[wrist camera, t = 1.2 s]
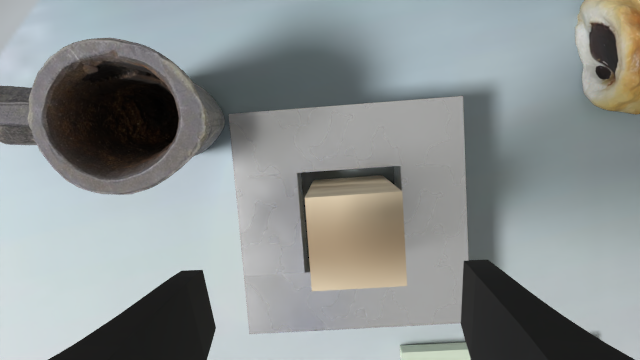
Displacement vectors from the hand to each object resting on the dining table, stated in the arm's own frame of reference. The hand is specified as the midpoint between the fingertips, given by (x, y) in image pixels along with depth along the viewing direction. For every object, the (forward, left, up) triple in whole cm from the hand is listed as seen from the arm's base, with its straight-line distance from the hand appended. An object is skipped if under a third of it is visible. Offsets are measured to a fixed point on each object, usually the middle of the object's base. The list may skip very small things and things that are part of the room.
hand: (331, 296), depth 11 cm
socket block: (0, -1, -12) cm, 13 cm away
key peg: (0, -1, -13) cm, 13 cm away
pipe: (+6, +11, -13) cm, 18 cm away
